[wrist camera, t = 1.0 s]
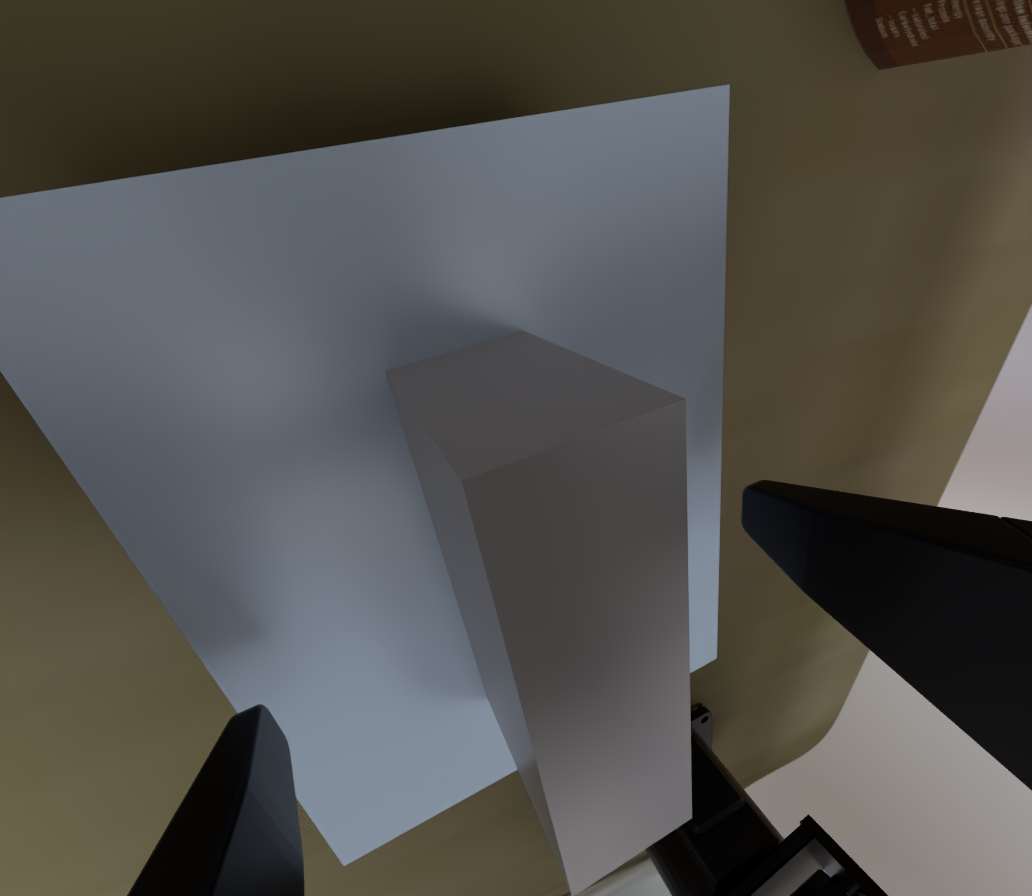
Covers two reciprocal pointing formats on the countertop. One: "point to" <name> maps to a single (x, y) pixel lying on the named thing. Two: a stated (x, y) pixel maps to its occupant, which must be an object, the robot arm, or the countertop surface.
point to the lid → (415, 448)
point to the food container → (937, 28)
